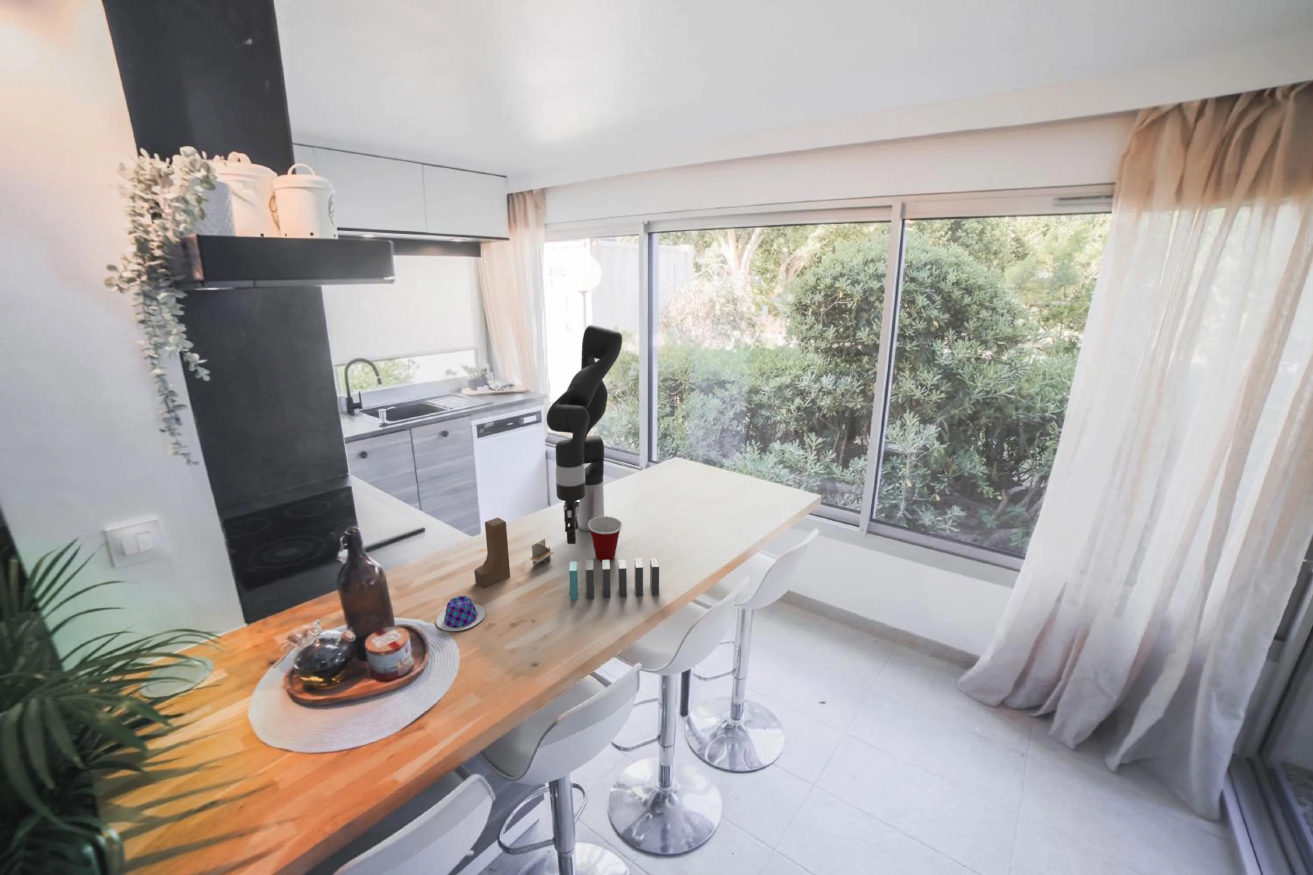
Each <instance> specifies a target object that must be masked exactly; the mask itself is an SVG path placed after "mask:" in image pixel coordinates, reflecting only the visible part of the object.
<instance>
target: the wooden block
mask: <svg viewBox="0 0 1313 875" xmlns="http://www.w3.org/2000/svg"><path fill="white" fill-rule="evenodd" d="M484 529H485V539H486V550H487V555H486V559H485V560H484V561H483V564H482V565H480V566H478V567H476V568H475V569H474V571H473V572H474V579H475V580H474V581H475V584H476V585H477V586H478V587H480V588H481V589H486V588H488V587H492V586H493V585H495V584H497V583H499V582H502V581H505V580H506V579H509V578H510V577H511V569H510V568H511V567H510V559H509V558H510V556H509V546H508V544H509V543H508V533H507V532H508V531H507V530H508V529H507V522H506V521H505V520H503V519H501V518H500V517H495V518H492V519H489V520H487V521H484Z"/></svg>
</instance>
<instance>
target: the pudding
mask: <svg viewBox="0 0 1313 875" xmlns="http://www.w3.org/2000/svg"><path fill="white" fill-rule="evenodd" d="M485 616H486V610H485V608H484V607H483V606H482V605H480V604H477V603H474V602H473V600H472V599H471V597H469V596H467V595H463V596H462V595H459V596H455V597H453V598H451V599H450V601H448V602H447V604H446V607H445V609H444V610H442V611H441V612H440V613H438V616H436V620H435V623H436V626H437V627H438V628H440V629H441V630H444V631H448V632H459V631H464V630H467V629H470V628H472V627H474V626H476V625H478V624H479V623H480V622H481V621H483V620H484V618H485Z"/></svg>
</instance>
